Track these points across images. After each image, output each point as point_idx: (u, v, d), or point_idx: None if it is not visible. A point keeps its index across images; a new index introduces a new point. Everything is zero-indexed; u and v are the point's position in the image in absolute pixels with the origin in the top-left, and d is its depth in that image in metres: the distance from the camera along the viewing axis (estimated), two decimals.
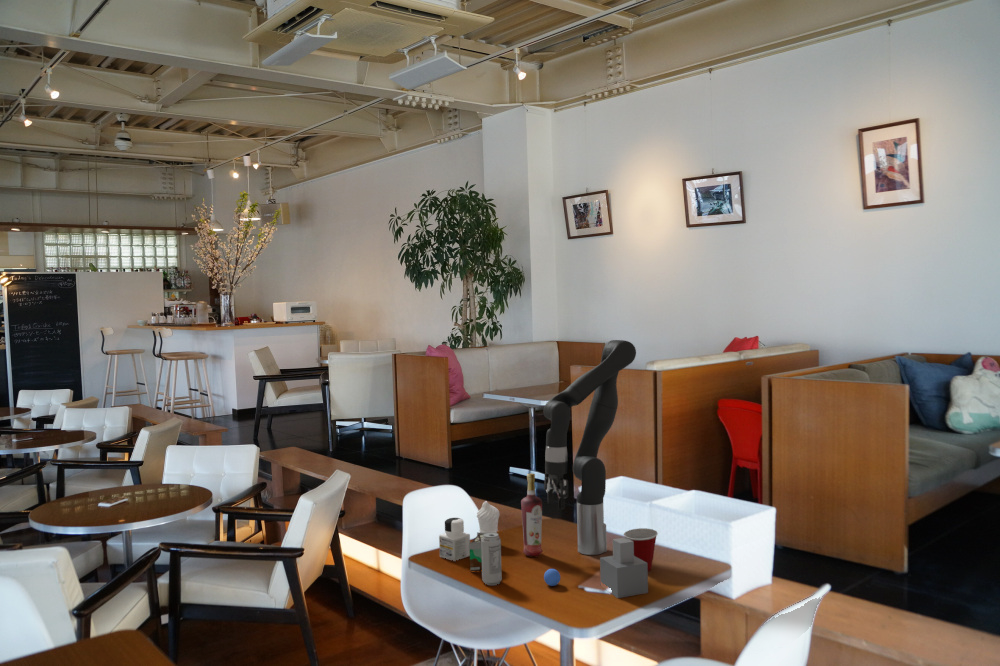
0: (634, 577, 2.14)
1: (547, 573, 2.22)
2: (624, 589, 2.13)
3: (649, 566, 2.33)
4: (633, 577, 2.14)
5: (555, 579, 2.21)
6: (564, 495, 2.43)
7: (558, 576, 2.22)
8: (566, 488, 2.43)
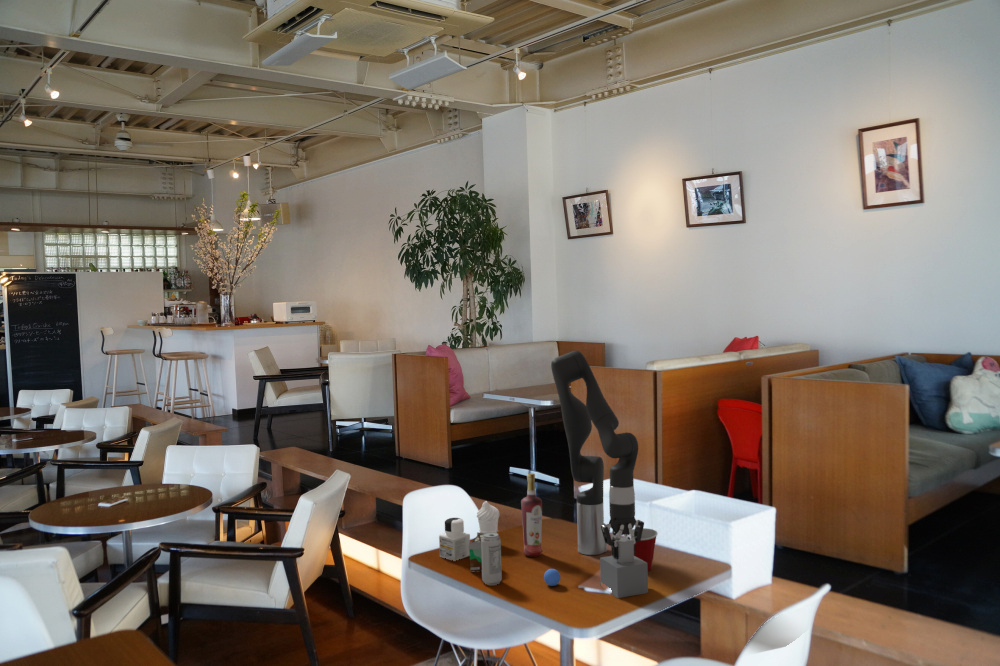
0: (634, 577, 2.14)
1: (547, 573, 2.22)
2: (624, 589, 2.13)
3: (649, 566, 2.33)
4: (633, 577, 2.14)
5: (555, 579, 2.21)
6: None
7: (558, 576, 2.22)
8: None
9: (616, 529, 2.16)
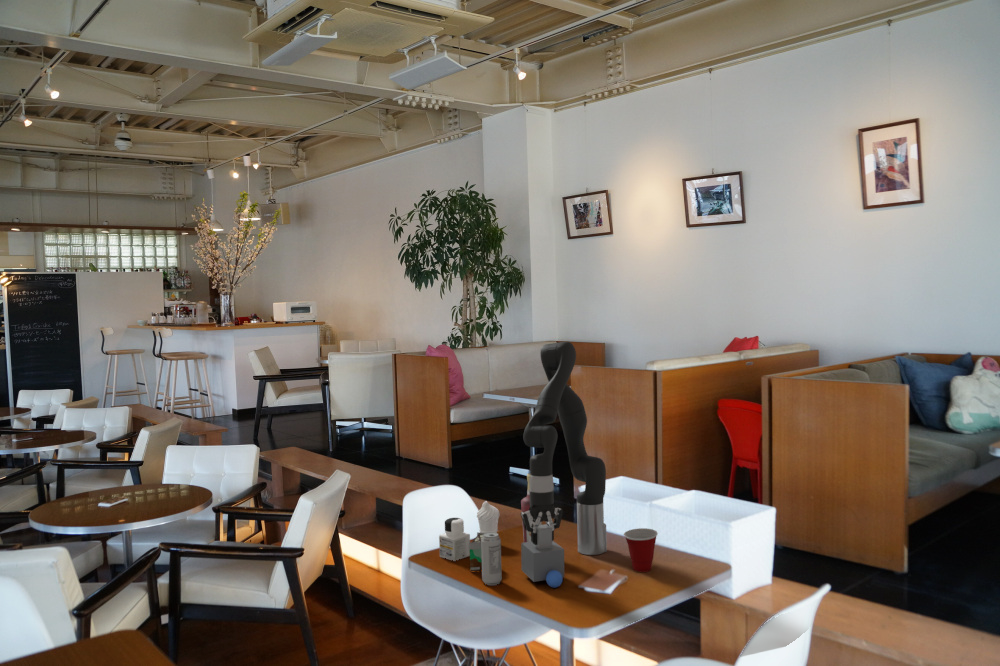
0: (550, 562, 2.24)
1: (550, 577, 2.20)
2: (540, 573, 2.23)
3: (649, 566, 2.33)
4: (549, 562, 2.24)
5: (557, 585, 2.20)
6: None
7: (560, 581, 2.20)
8: None
9: (535, 516, 2.26)
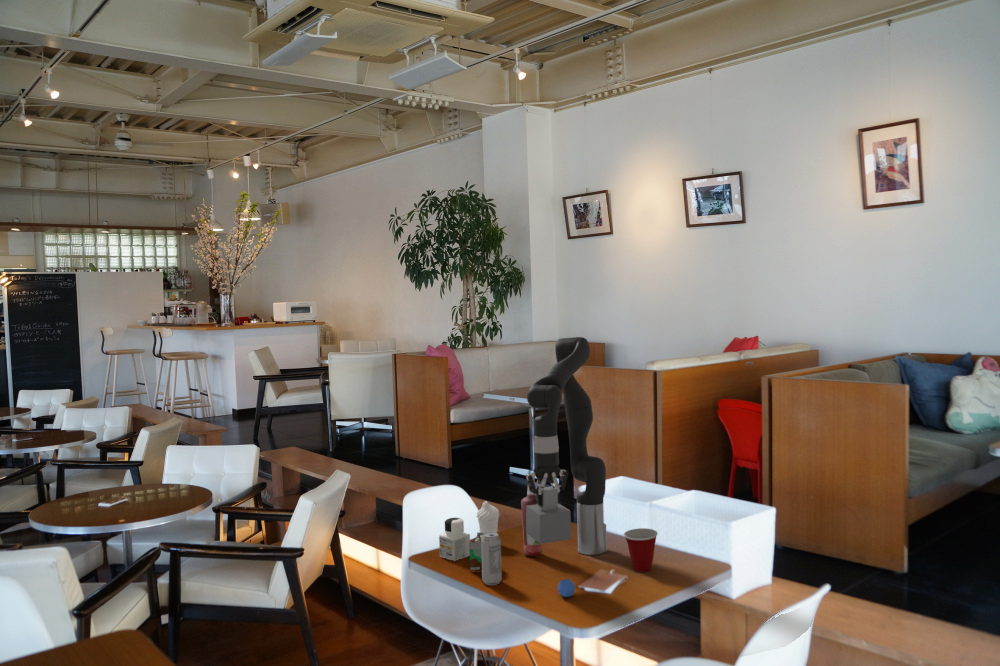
0: (557, 524, 2.20)
1: None
2: (547, 535, 2.19)
3: (649, 566, 2.33)
4: (556, 524, 2.20)
5: None
6: None
7: None
8: None
9: (540, 478, 2.22)
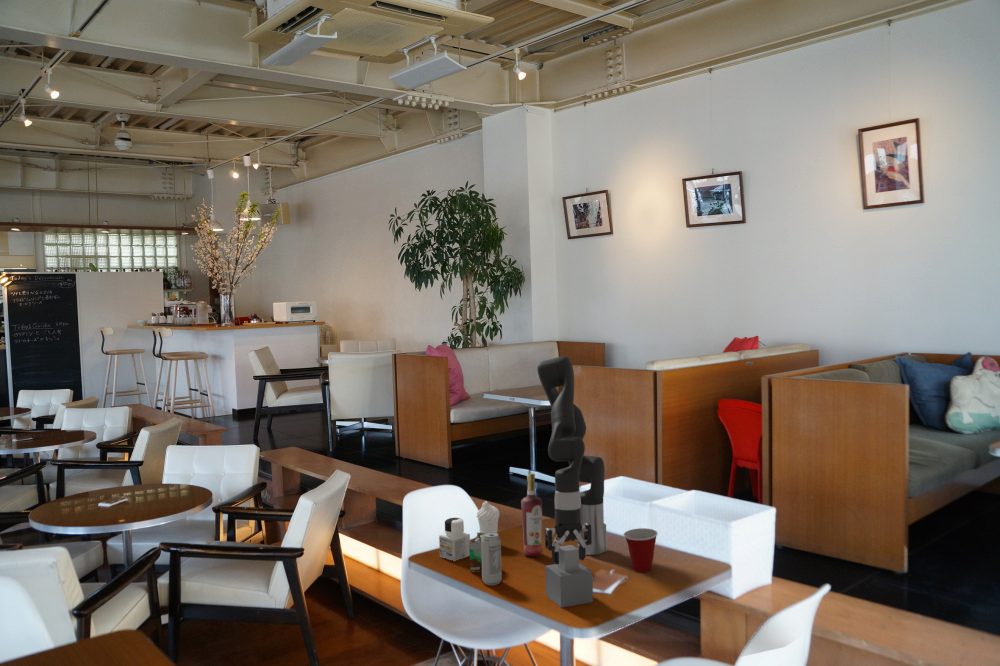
0: (578, 586, 2.08)
1: None
2: (568, 598, 2.07)
3: (649, 566, 2.33)
4: (577, 586, 2.08)
5: None
6: None
7: None
8: None
9: (560, 534, 2.10)
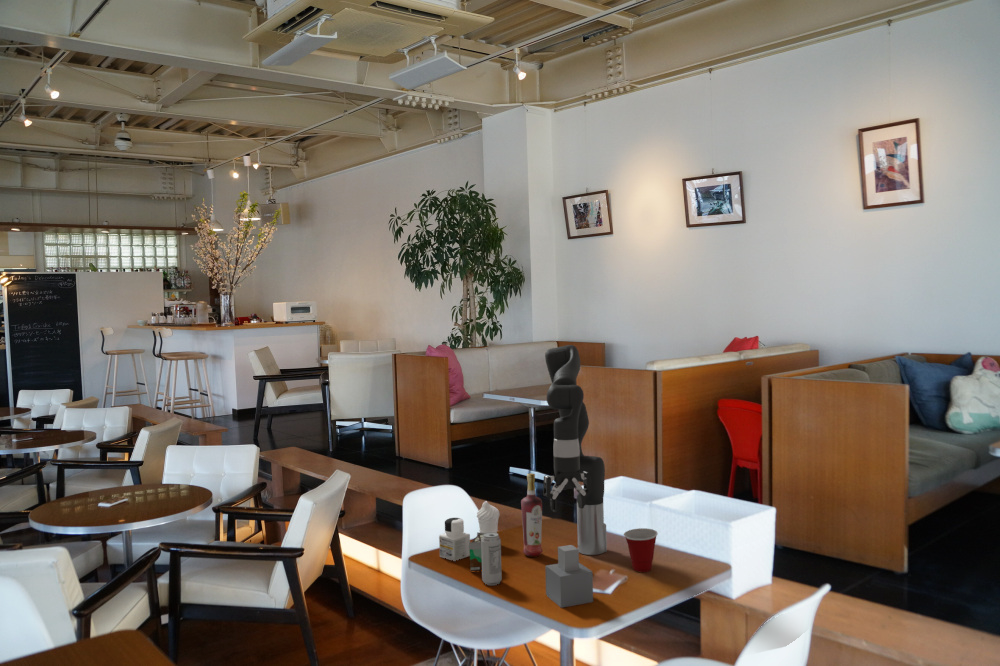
0: (578, 586, 2.08)
1: None
2: (568, 598, 2.07)
3: (649, 566, 2.33)
4: (577, 586, 2.08)
5: None
6: None
7: None
8: None
9: (559, 481, 2.09)
